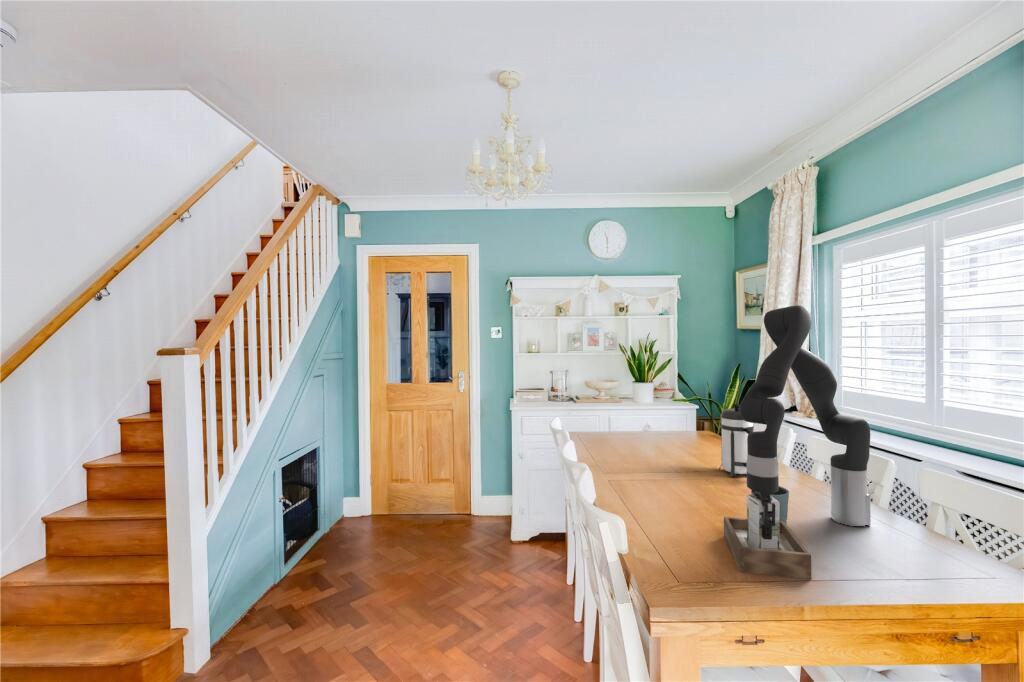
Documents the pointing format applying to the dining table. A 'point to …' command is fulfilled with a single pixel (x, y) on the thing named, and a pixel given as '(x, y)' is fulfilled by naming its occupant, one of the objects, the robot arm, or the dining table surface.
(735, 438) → the coffee press
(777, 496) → the blue-grey cup
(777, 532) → the syrup box
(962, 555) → the dining table surface
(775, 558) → the brown wooden shallow tray
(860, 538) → the dining table surface
